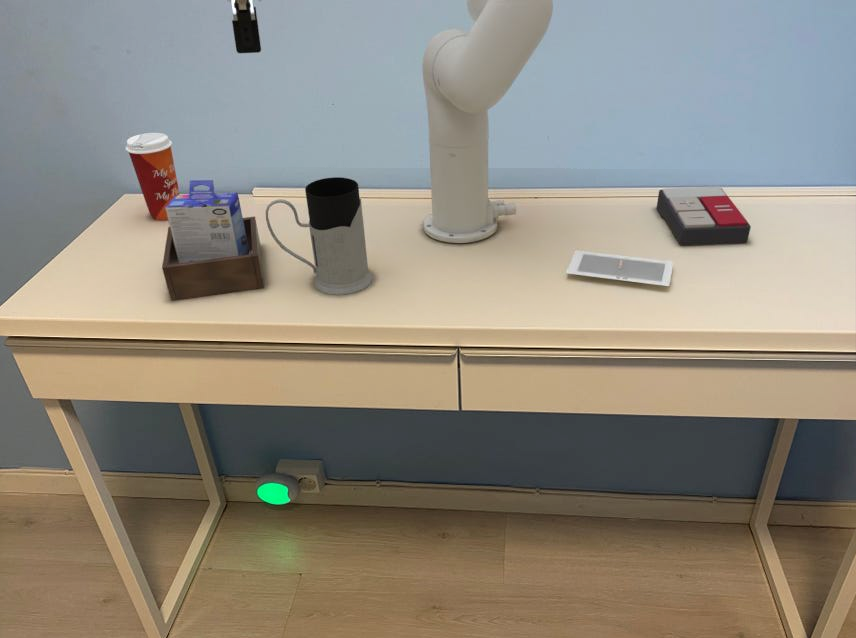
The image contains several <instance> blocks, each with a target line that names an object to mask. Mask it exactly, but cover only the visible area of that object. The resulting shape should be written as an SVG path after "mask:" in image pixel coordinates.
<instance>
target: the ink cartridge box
mask: <svg viewBox="0 0 856 638" xmlns="http://www.w3.org/2000/svg"><path fill="white" fill-rule="evenodd" d="M198 186H205V187H208V188H209V190H195V189H194V188H196V187H198ZM188 190H189V191H188V194H180V195H176V196H175V197H174V198H173V199H172V200H171V201H170V203H169V204H168V205H167V206H166V207H165V209H166V213H167V217H168V220H167V221H168V225H169V227H170V229H171V233H172V237H173V241H174V245H175V249H176V253H177V257H178V261H179V263H186V262H193V261H201V260H209V259H216V258H224V257H232V256H240V255H247V254H251V253H250V250H249V248H248V243H247V237H246V232H245V227H244V222H243V218H244V217H243V213H242V207H241V202H240V197H239V192H217V193H215V187H214V179H209V180H208V179H205V180H202V179H201V180H199V179H198V180H197V179H196V180H194V179H193V180H192V179H191V180H189V189H188Z"/></svg>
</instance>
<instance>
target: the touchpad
mask: <svg viewBox="0 0 856 638" xmlns="http://www.w3.org/2000/svg"><path fill="white" fill-rule="evenodd" d="M674 263H675V262H674V261H669V260H662V259H661V260H660V259H653V258H644V257H636V256H628V255H619V254H610V253H603V252H592V251H583V250H575V251H574V253H573V256H572V258H571V260H570V263H569V265H568V267H567V270H566V272H565V274H570V275H577V276H585V277H593V278H601V279H608V280H617V281H624V282H631V283H633V282H634V283H638V284H639V283H641V284H647V285H655V286H663V287H670V283H671V278H672V273H673V267H674Z"/></svg>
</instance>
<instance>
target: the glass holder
mask: <svg viewBox="0 0 856 638" xmlns="http://www.w3.org/2000/svg"><path fill="white" fill-rule="evenodd" d="M304 191H305V198H306V204H307V205H306V206H307V212H308V218H309V220H308V223H302V222H300V219H299V216H298V212H297V209H296V207H295V205H294V204H293V203H291V201H288V200H286V199H283V198H282V199H275V200H273V201H271V202H270V203H269V204H268V205H267V207H266V209H265V222H266V225H267V230H268V231H269V233H270V235H271V237H272V238H273V240H274V241H275V242H276V245H278V246H279V248H281V249H282V250H283V251H284V252H286V253H287V254H289V255H291V256H292V257H294V258H295V259H297V260H299V261H301V262H302V263H304V264H306V265H307V266H309V267H310V268H312V271H313V274H314V275H315V274H316V275H315V278H314V286H315V288H316V289H317V290H318V291H320V292H321V293H323V294H328V295H334V296H335V295H336V296H338V295H339V296H341V295H350V294H351V295H352V294H355V293H358V292H360V291H362V290H364V289H366V288H367V287H368V286H370V285H371V283H372V281H373V276H372V274H371V272H370V271H369V264H368V255H367V243H366V236H365V226H364V224H365V223H364V215H363V206H362V199H361V198H360V189H359V183H358V182H357V181H356V180H354V179H352V178H347V177H341V176H340V177H339V176H338V177H336V176H335V177H334V176H333V177H326V178H320V179H317V180H313V181H312V182H310V183H308V184H307V185H306V186H305V187H304ZM276 204H284V205H287V206H288V207H289V208H290V209H291V210H292V212H293V214H294V218H295V219H294V220H295V222H296V224H297V226H299V227H301V228H309V233H310V240H311V242H310V243H311V247H312V255H313V262H314V264H313V263H312V262H311V261H309V260H308V259H306V258H304V257H302V256H301V255H299V254H297V253H296V252H293V250H291V249H290V248H288V247H286V246H285V244H283V243H282V242H281V241H280V240H279V238H278V237H277V236H276V234H275V232H274V230H273V227H272V225H271V222H270V219H269V211H270V208H271V207H272V206H274V205H276Z"/></svg>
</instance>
